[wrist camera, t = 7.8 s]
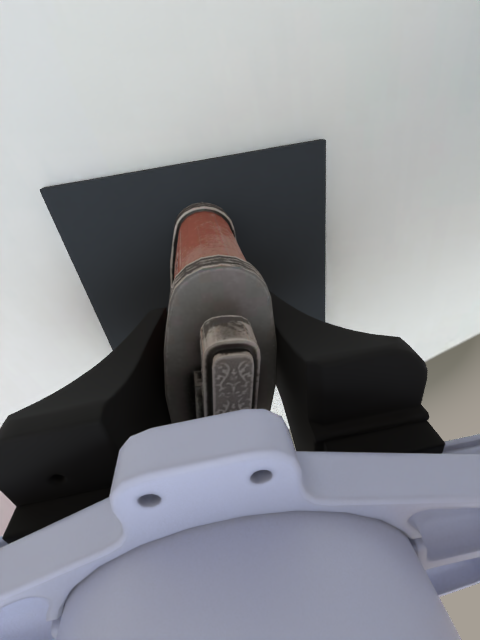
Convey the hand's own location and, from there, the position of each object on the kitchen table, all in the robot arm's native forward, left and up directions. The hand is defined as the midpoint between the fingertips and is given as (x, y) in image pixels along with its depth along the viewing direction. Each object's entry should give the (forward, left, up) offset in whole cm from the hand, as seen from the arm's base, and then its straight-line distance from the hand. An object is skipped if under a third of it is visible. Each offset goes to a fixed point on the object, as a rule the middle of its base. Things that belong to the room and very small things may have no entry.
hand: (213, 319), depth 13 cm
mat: (0, -1, -4) cm, 4 cm away
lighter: (0, 0, -4) cm, 4 cm away
